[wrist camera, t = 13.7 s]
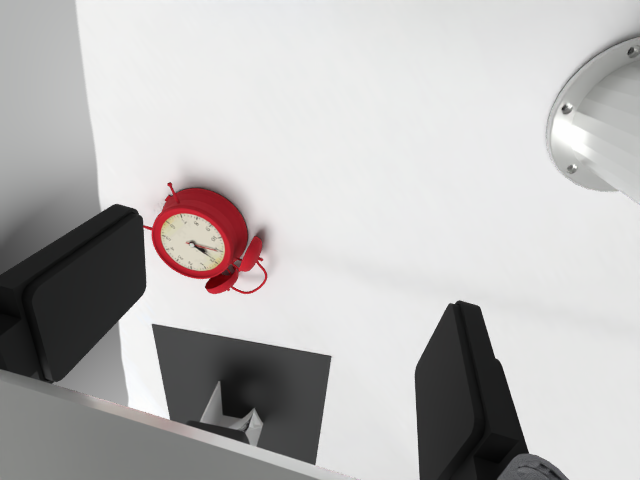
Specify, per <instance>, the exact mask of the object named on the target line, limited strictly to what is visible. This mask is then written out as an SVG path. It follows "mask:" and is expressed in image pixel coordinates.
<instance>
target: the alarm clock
mask: <svg viewBox="0 0 640 480" xmlns="http://www.w3.org/2000/svg"><path fill="white" fill-rule="evenodd" d="M167 185H168V186H169V187H170V188H171V191H172V193H173V196H172V197H171V196H170V195H169V196H168V197H167V198H166V199H165V201H166V203H165V205H164V207H163V210H162V212H161V213H160V214H159V215H158V216H157V218H156V220H155V222H154V224H153V228H151V227H148V226H144V225H143V227H144V228H146V229H149V230H152V241H153V245H154V247H155V250H156V252H157V253H158V255H159V256H160V258H161V259H162V260H163V261H164V262H165V263H166V264H167V265H168V266H169V267H170V268H172V269H173V270H175V271H176V272H178V273H180V274H182V275H184V276H187V277H191V278H196V279H207V278H210V279H209V281H208V282H207V283H206V286H205V288H206V289H207V291H208V292H209V293H212V294H217V293H221V292H224V291H226V290H228V291H229V290H230V289H229V288H230V287H231V288H232V289H234V290H235V291H238V292H240V293H243V294H250V293H253V292H255V291H257V290H258V289H260V288H261V287H262V286H263V285H264V284H265V282H266V280H267V272H266V271H265V269H264V268H263V267H262V266H261V264H260V263H259V262H258V260H261V261H263V259H262V258H260V257H259V256H260V253H261V250H262V241H261V239H260V238H258V237H257V236H254V238H253V239H252V241H251V243H250V245H249V247H248V249H247V251H246V253H245V255H244V257H243V260H242V259H240V257H241V255H242V254H243V252H244V250H245V248H246V245H247V240H248V233H247V227H246V224H245V221H244V219H243V217H242V215H241V214H240V212H239V211H238V210H237V208H236V207H235V206H234V205H233V204H232V203H231V202H230V201H228V200H227V199H226V198H224V197H223V196H221V195H219V194H217V193H215V192H213V191H209V190H206V189H200V188H190V189H185V190H182V191H179V192H177V193H175V192H174V190H173V188H172V183H171V182H170V183H168V184H167ZM237 260H240V261H242V262H241V265H240V267H239V268H238V267H237V266H236V265H235V264H234V262H235V261H237ZM255 263H257V264H258V265H259V267H260V268H261V269H262V270H263V271H264V274H265V279H264V281H263V283H262V284H261V285H260V286H259V287H257V288H256V289H254V290H253V291H249V292H244V291H241V290H238V289H236V288H234V287H233V285H234V283H235V282H236V281H237V279H238V272H240V271H244V272H246V271H249V270H251V269H252V267H253V266H254V265H255ZM230 264H232V265H233V266H234V267H233V268H234V270H235V271H234V273H233V274H231V272H230V271H229V269H228V266H229V265H230ZM235 267H236V268H237V269H238V271H237V269H236V268H235ZM226 269H227V271H228V272H229V274H230V275H223V274H222V272H224V271H225V270H226Z"/></svg>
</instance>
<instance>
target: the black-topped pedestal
mask: <svg viewBox="0 0 640 480" xmlns="http://www.w3.org/2000/svg"><path fill="white" fill-rule="evenodd" d="M152 328H153V333H154V338H155V344H156V349H157V354H158V359H159V364H160V369H161V374H162V380H163V385H164V390H165V395H166V400H167V405H168V410H169V416H170V420H171V421H175V422H178V423H181V424H184V425H188V426H191V427H194V428H197V429H201V430H204V431H207V432H210V433H213V434H217V435H220V436H223V437H226V438H230V439H233V440H236V441H239V442H242V443H246V444H249V445H252V446H255V447H258V448H262V449H265V450H268V451H271V452H274V453H277V454H281V455H284V456H287V457H290V458H293V459H296V460H300V461H303V462H306V463H309V464H312V465H315V463H316V456H317V450H318V443H319V436H320V429H321V422H322V416H323V409H324V402H325V395H326V389H327V382H328V375H329V368H330V362H331V356H326V355H320V354H315V353H309V352H304V351H298V350H292V349H287V348H281V347H276V346H270V345H264V344H259V343H253V342H248V341H242V340H237V339H231V338H225V337H220V336H214V335H209V334H203V333H198V332H192V331H186V330H181V329H175V328H170V327H164V326H159V325H153V324H152Z"/></svg>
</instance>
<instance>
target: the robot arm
mask: <svg viewBox="0 0 640 480" xmlns="http://www.w3.org/2000/svg"><path fill="white" fill-rule="evenodd" d="M630 48H631V51H630V53H629V54H627V53H628V50H629V49H630ZM564 105H566V107H565V109H563V110H561V109H562V107H563V106H564ZM546 142H547V150H548V153H549V155H550V158H551V161H552V162H553V164H554V165H555V167H556V168H557V170H558V171H559V172H561V173H562V174H563V175H564V176H565V177H566V178H567V179H569V180H570V181H572V182H573V183H575V184H576V185H579V186H581V187H584V188H586V189H590V190H595V191H601V192H617V191H620V192H622V193H623V194H624V195H626V196H627V197H629V198H630V199H632V200H633V201H634V202H636V203H637V204H639V205H640V37H637V38H633V39H630V40H627V41H625V42H622V43H620V44H617V45H615V46H613V47H611V48H609V49H607V50H606V51H604V52H602V53H600V54H599V55H597V56H596V57H594V58H593V59H592V60H591V61H589V62H588V63H587V64H585V65H584V66H583V67H582V68H581V69H580V70H579V71H578V72H577V73H576V74H575V75H574V76H573V77H572V78H571V79H570V80H569V81H568V83H567V84H566V86H565V87H564V88H563V90H562V91H561V92H560V94H559V96H558V98H557V99H556V101H555V103H554V105H553V107H552V110H551V113H550V116H549V119H548V123H547V131H546ZM570 165H571V166H570ZM569 166H570V167H569ZM568 167H569V168H568ZM145 289H146V269H145V249H144V230H143V218H142V216H140V215H139V213H138V211H137V210H136V209H133V208H130V207H126V206H123V205H119V204H115V205H112V206H111V207H109V208H107V209H106V210H104V211H103V212H101V213H99V214H98V215H96V216H95V217H93V218H91V219H90V220H88V221H87V222H85V223H83V224H82V225H80V226H78V227H77V228H75V229H74V230H72V231H70V232H69V233H67V234H66V235H64V236H63V237H61V238H59V239H58V240H56V241H54V242H53V243H51V244H50V245H48V246H46V247H45V248H43V249H41V250H40V251H38V252H37V253H35V254H33V255H32V256H30V257H29V258H27V259H25V260H24V261H22V262H21V263H19V264H17V265H16V266H14V267H13V268H11V269H9V270H8V271H6V272H5V273H3V274H1V275H0V480H359V479H356V478H353V477H350V476H347V475H344V474H341V473H338V472H334V471H331V470H328V469H325V468H322V467H319V466H315V465H312V464H309V463H306V462H303V461H300V460H296V459H293V458H290V457H287V456H284V455H281V454H277V453H274V452H271V451H268V450H265V449H262V448H258V447H255V446H252V445H249V444H246V443H242V442H239V441H236V440H233V439H230V438H226V437H223V436H220V435H217V434H213V433H210V432H207V431H204V430H201V429H197V428H194V427H191V426H188V425H184V424H181V423H178V422H175V421H171V420H168V419H165V418H162V417H159V416H155V415H152V414H149V413H146V412H142V411H139V410H136V409H133V408H129V407H126V406H122V405H119V404H116V403H113V402H110V401H106V400H103V399H100V398H96V397H93V396H90V395H87V394H83V393H80V392H77V391H73V390H70V389H67V388H63V387H60V386H57V385H54V384H52V383H53V382H58V381H60V380H62V379H63V378H64V377H65V376H66V375H67V374H68V373H69V372H70V371H71V370H72V369H73V368H74V367H75V365H76V364H77V363H78V362H79V361H80V360H81V359H82V358H83V357H84V356H85V355H86V354H87V353H88V352H89V351H90V350H91V349H92V348H93V347H94V345H96V343H97V342H98V341H99V340H100V339H101V338H102V337H103V336H104V335H105V334H106V333H107V332H108V331H109V330H110V329H111V328H112V327H113V326H114V324H116V323H117V321H118V320H119V319H120V318H121V317H122V316H123V315H124V314H125V313H126V312H127V311H128V310H129V309H130V308H131V307H132V306H133V305H134V304H135V303H136V302H137V301H138V300H139V298H140V297H141V296H142V295H143V293H144V292H145ZM415 391H416V412H417V433H418V453H419V474H420V480H569V479H568V478H567V477H566V476H565V475H564V474H563V473H562V472H561V471H560V470H559V469H558V468H557V467H555V466H554V465H553V464H551V463H550V462H549V461H547V460H545V459H543V458H541V457H539V456H537V455H532V454H529V452H528V449H527V445H526V442H525V439H524V436H523V432H522V429H521V426H520V423H519V419H518V416H517V413H516V410H515V407H514V403H513V400H512V397H511V394H510V390H509V387H508V384H507V381H506V377H505V374H504V371H503V368H502V365H501V363H500V361H499V360H497V359H495V356H494V353H493V349H492V346H491V342H490V339H489V336H488V332H487V329H486V325H485V322H484V319H483V315H482V312H481V309H480V307H479V306H477V305H474V304H470V303H467V302H463V301H460V300H459V301H457V302H456V303H455V304H452V303H450V304H449V305H448V306H447V308H446V310H445V312H444V314H443V316H442V318H441V320H440V321H439V323H438V325H437V327H436V329H435V331H434V333H433V335H432V337H431V339H430V341H429V343H428V344H427V346H426V348H425V350H424V352H423V354H422V356H421V358H420V360H419V362H418V364H417V366H416V370H415Z"/></svg>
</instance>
